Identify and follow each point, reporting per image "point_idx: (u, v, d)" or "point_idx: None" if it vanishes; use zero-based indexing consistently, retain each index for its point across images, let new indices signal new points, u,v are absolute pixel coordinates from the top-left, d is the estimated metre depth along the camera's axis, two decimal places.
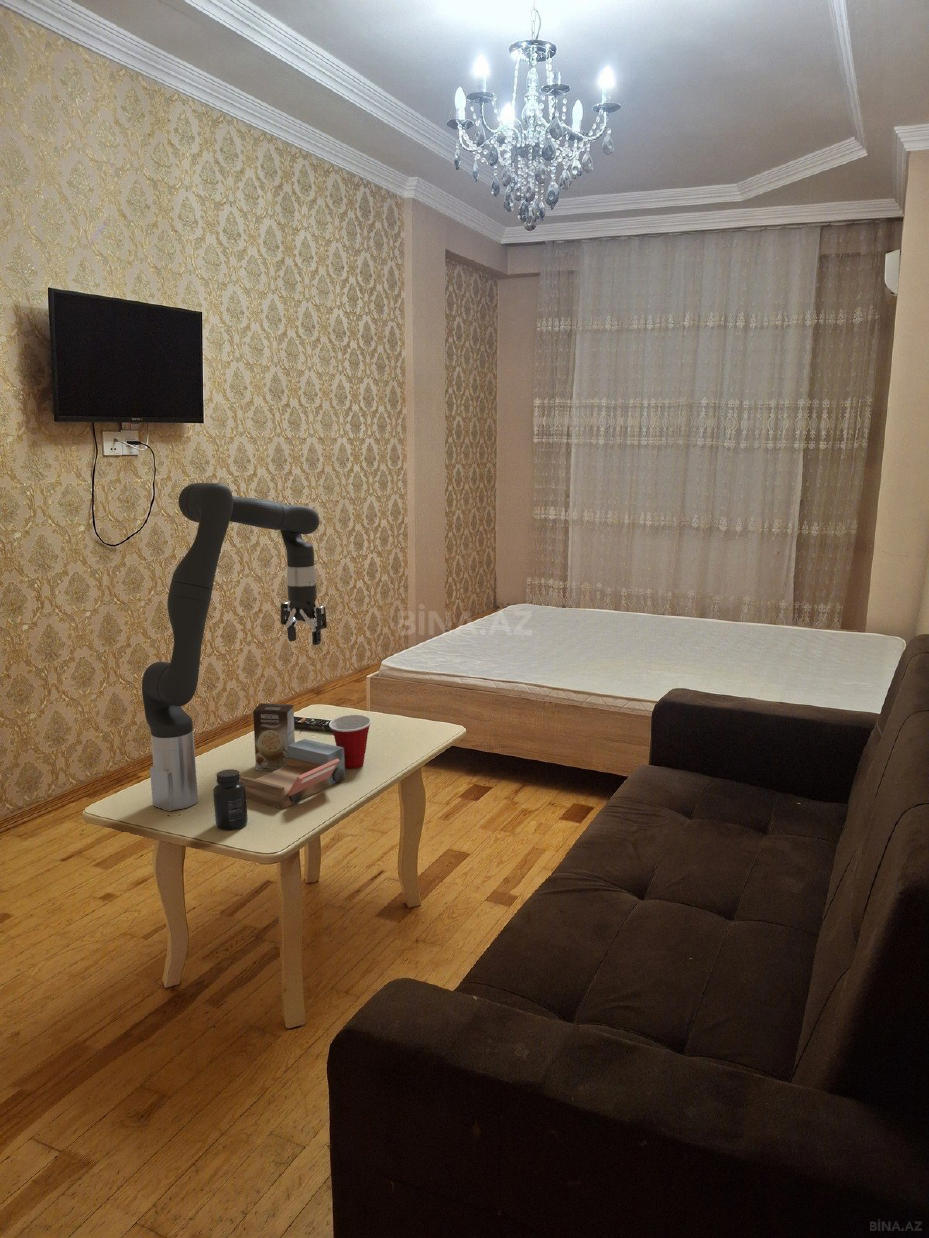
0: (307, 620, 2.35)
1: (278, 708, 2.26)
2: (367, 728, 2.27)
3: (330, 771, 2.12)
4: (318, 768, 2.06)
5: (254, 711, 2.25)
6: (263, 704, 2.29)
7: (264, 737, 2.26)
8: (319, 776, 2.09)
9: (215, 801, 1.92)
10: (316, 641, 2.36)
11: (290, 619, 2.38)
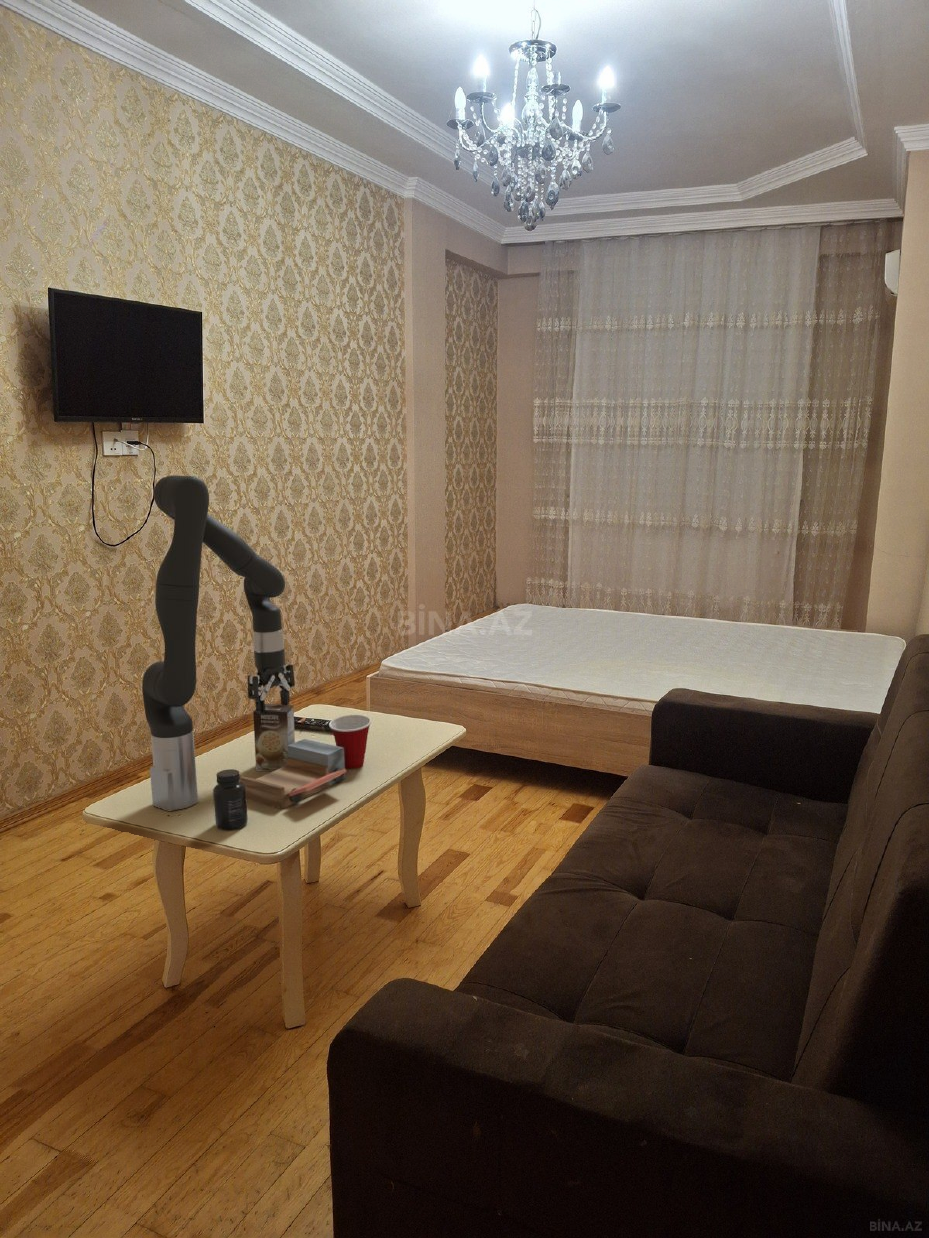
0: None
1: (278, 709, 2.26)
2: (367, 728, 2.27)
3: None
4: (325, 779, 2.05)
5: (254, 712, 2.25)
6: None
7: (264, 738, 2.26)
8: None
9: (215, 801, 1.92)
10: None
11: None
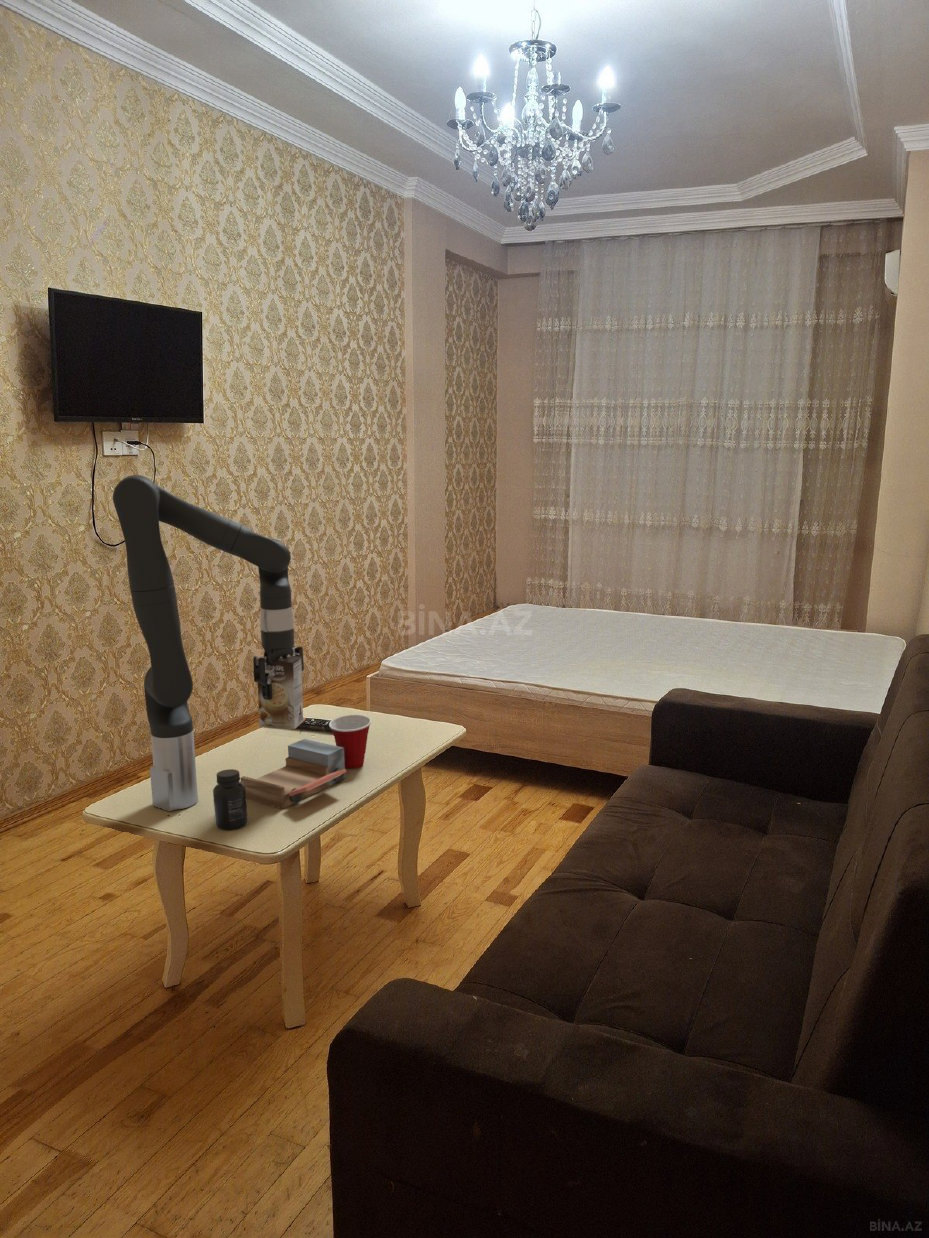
0: None
1: (284, 659, 2.06)
2: (367, 728, 2.27)
3: None
4: (325, 779, 2.05)
5: None
6: None
7: None
8: None
9: (215, 801, 1.92)
10: None
11: None
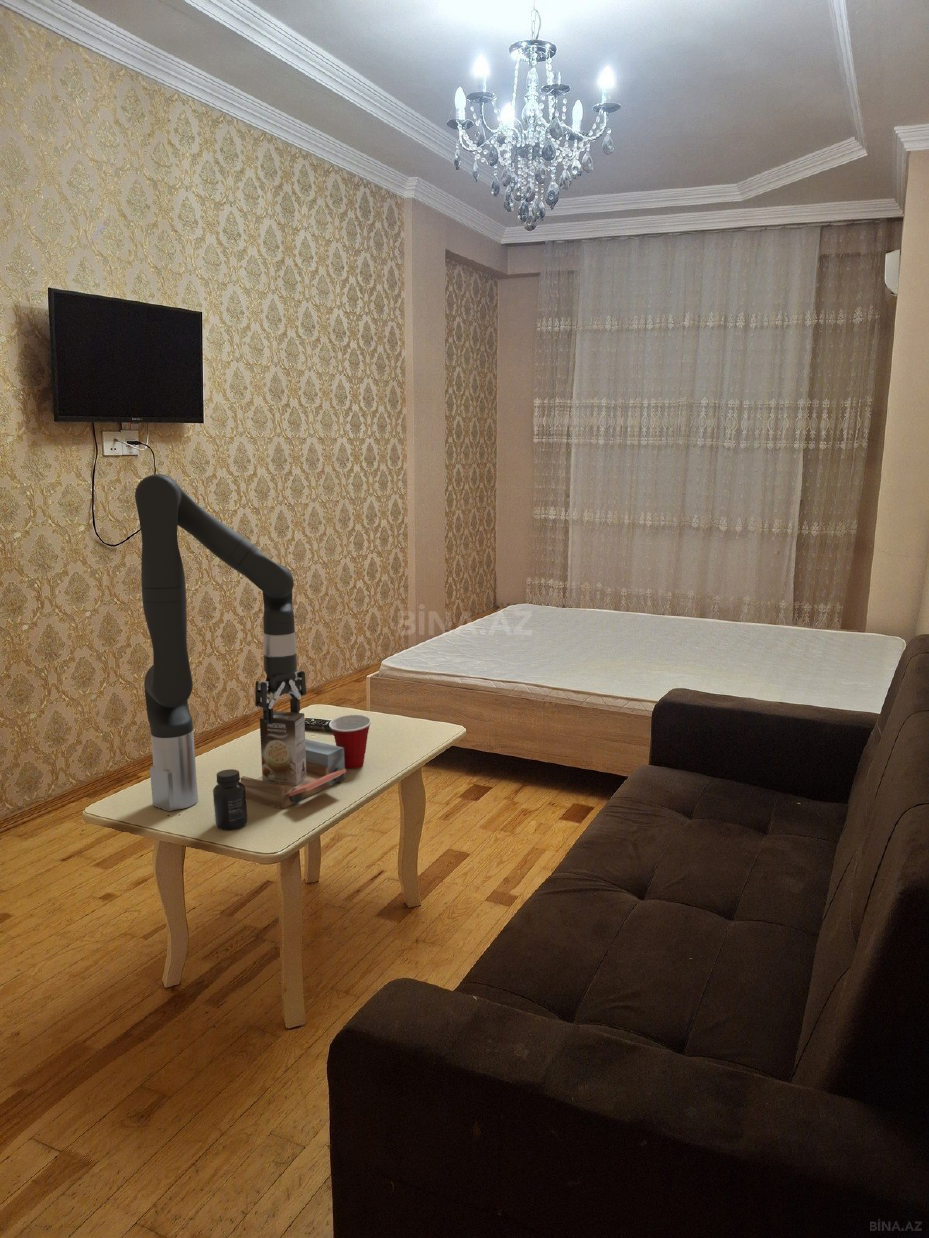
0: None
1: (286, 717, 2.09)
2: (367, 728, 2.27)
3: None
4: (325, 779, 2.05)
5: (260, 719, 2.08)
6: None
7: (270, 748, 2.09)
8: None
9: (215, 801, 1.92)
10: None
11: None
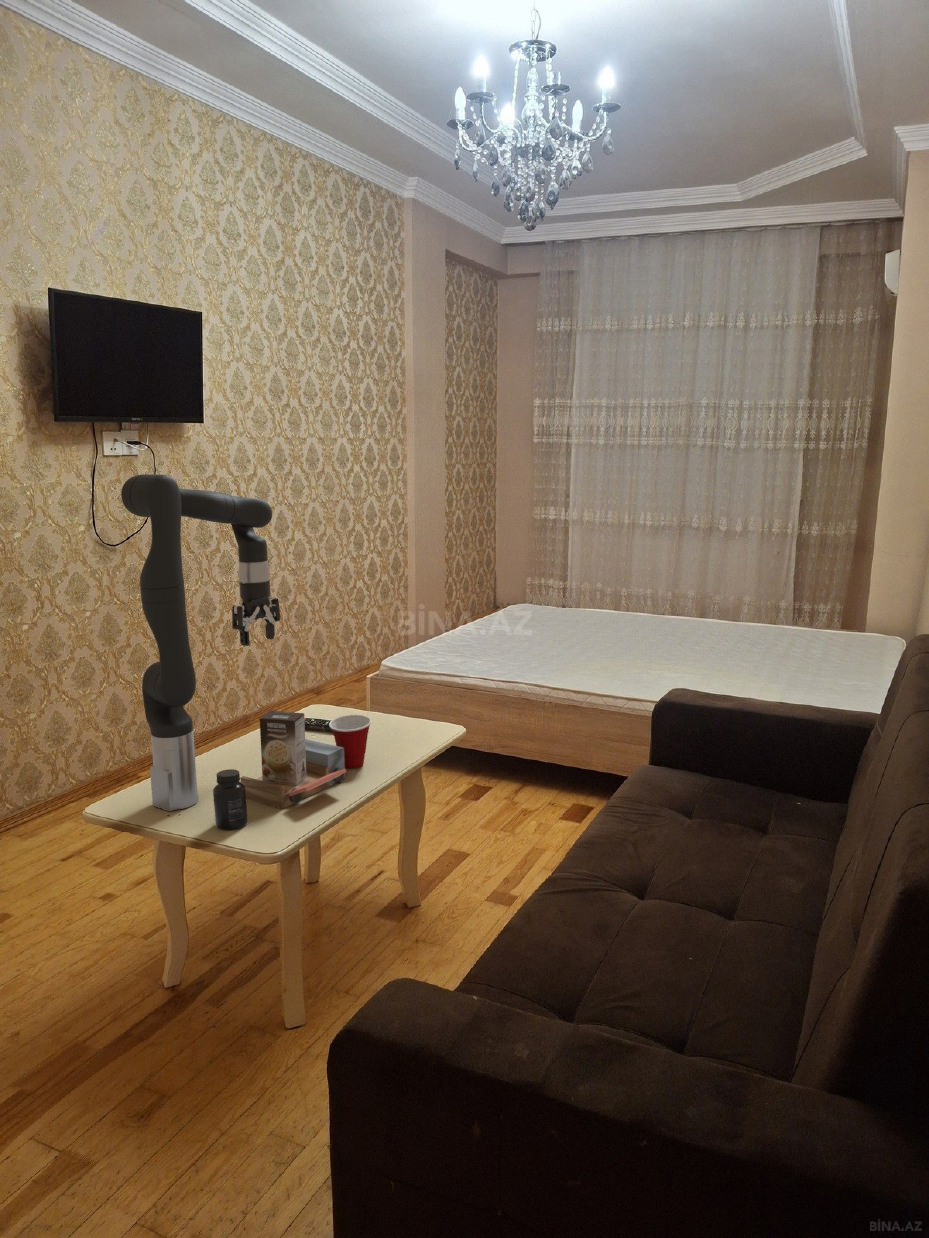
0: None
1: (286, 717, 2.09)
2: (367, 728, 2.27)
3: None
4: (325, 779, 2.05)
5: (260, 719, 2.08)
6: (272, 711, 2.13)
7: (270, 748, 2.09)
8: None
9: (215, 801, 1.92)
10: None
11: None
